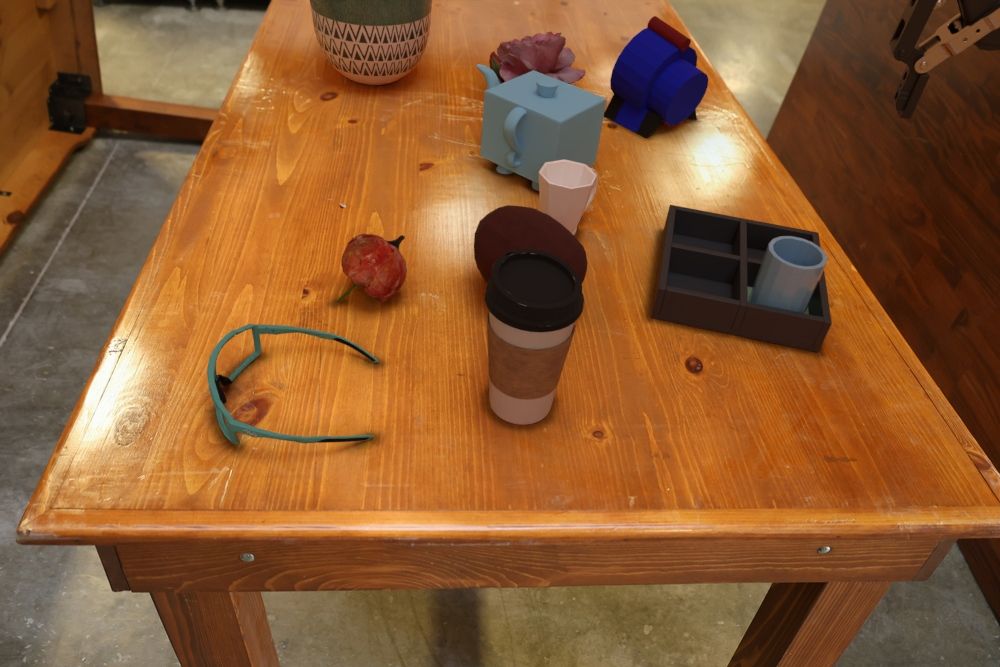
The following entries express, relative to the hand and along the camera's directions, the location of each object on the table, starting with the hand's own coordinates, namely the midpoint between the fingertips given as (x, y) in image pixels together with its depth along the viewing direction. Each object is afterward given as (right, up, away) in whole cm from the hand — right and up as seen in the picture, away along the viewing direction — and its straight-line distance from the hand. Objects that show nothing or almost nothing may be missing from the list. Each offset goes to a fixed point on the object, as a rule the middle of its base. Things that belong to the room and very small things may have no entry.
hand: (958, 124), depth 61 cm
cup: (-28, -3, +37) cm, 46 cm away
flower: (-31, +23, +67) cm, 77 cm away
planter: (-57, +25, +66) cm, 91 cm away
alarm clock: (-12, +18, +62) cm, 66 cm away
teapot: (-33, +8, +48) cm, 59 cm away
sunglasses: (-55, -23, +11) cm, 61 cm away
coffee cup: (-34, -23, +12) cm, 43 cm away
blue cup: (-6, -14, +25) cm, 29 cm away
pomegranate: (-50, -12, +23) cm, 57 cm away
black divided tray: (-9, -11, +29) cm, 33 cm away
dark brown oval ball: (-34, -13, +25) cm, 44 cm away
